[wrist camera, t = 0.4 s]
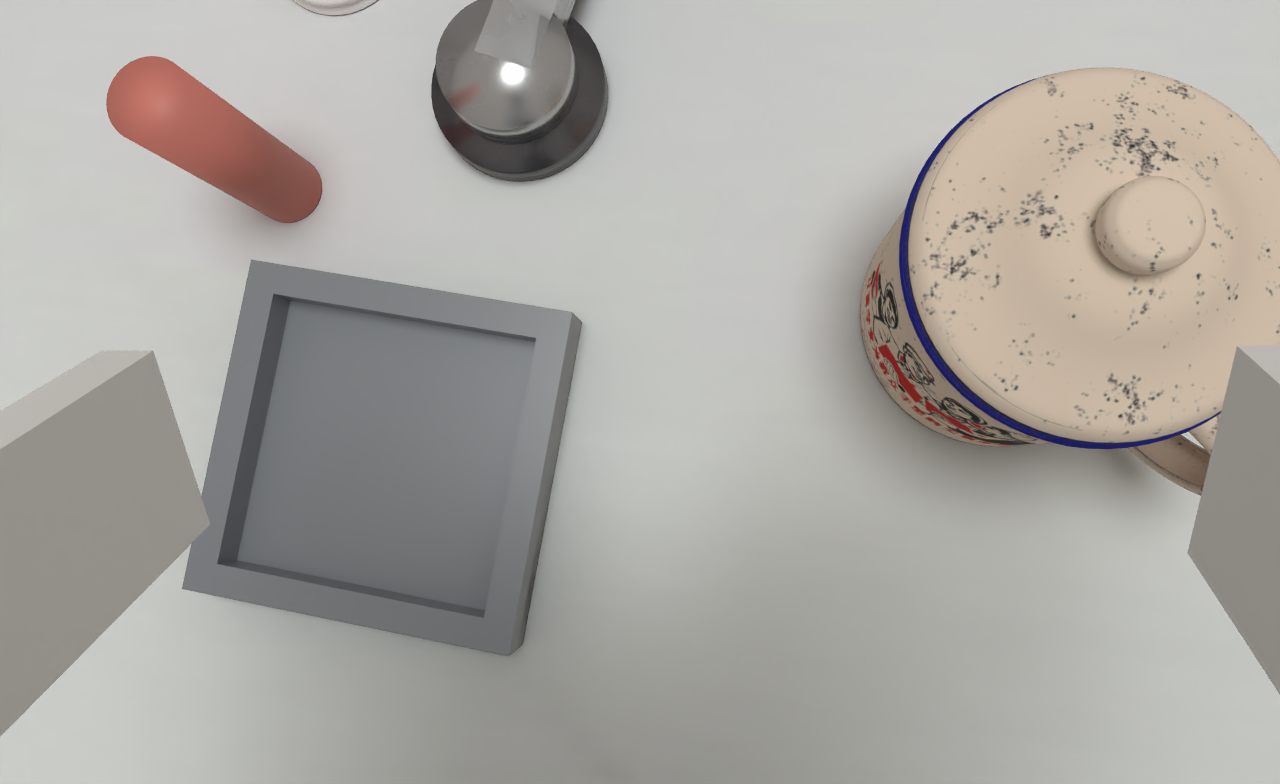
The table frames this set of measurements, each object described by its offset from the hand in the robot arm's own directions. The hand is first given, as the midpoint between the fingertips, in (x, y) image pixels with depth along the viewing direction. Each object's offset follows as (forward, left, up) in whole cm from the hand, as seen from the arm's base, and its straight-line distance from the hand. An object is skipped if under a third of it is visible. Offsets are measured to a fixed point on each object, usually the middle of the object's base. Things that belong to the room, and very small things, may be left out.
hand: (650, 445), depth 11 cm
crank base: (+11, +8, -19) cm, 24 cm away
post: (+7, +16, -19) cm, 26 cm away
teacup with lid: (+5, -10, -19) cm, 22 cm away
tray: (-2, +10, -19) cm, 22 cm away
